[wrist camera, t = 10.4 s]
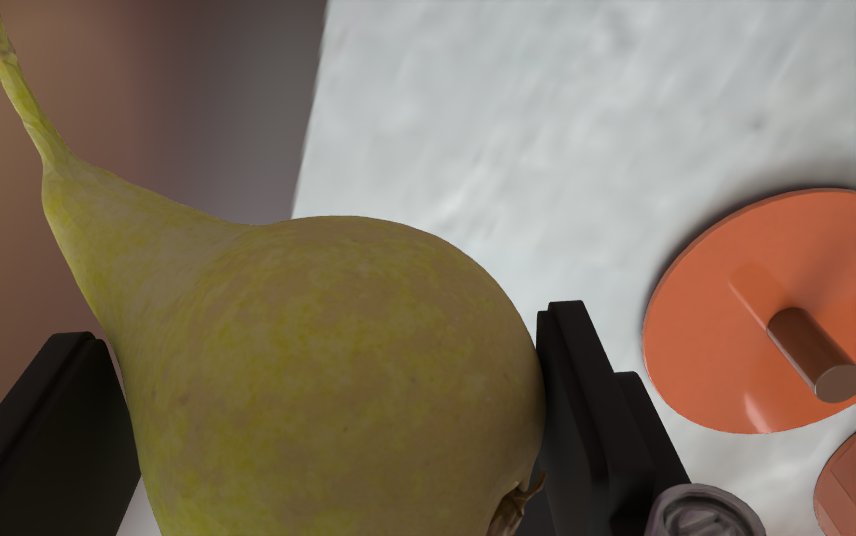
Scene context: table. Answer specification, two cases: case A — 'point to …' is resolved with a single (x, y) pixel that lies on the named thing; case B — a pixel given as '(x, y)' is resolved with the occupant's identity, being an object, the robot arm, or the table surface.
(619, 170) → the table surface
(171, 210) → the fruit
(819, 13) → the table surface
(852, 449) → the pot
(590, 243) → the table surface
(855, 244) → the lid
